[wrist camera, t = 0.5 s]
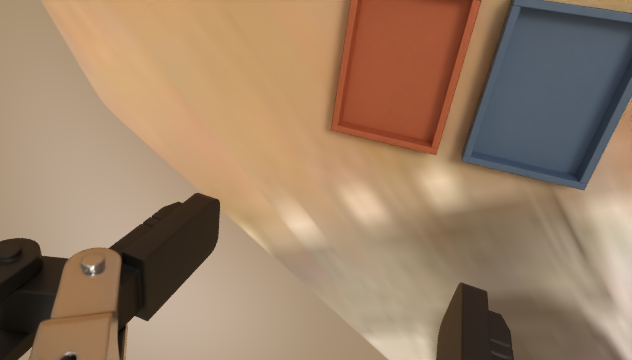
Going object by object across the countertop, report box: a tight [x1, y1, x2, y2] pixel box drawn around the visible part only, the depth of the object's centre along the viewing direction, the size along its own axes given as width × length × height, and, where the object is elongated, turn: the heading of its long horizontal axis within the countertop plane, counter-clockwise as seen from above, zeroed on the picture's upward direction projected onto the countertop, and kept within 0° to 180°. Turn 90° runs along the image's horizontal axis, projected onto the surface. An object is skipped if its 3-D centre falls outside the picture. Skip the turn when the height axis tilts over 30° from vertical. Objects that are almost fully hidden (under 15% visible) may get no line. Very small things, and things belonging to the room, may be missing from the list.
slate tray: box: [462, 0, 632, 190], centre depth 32 cm, size 13×10×2 cm
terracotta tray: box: [331, 0, 481, 155], centre depth 35 cm, size 13×10×2 cm
